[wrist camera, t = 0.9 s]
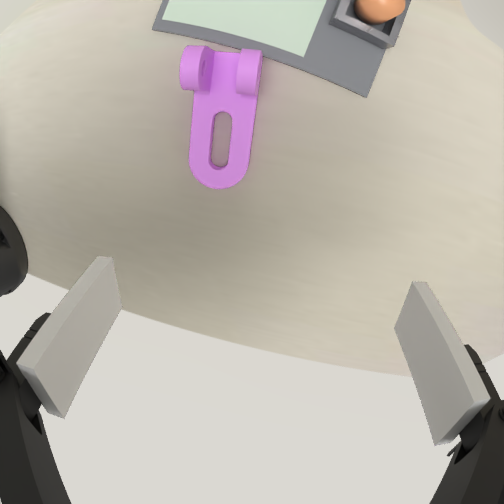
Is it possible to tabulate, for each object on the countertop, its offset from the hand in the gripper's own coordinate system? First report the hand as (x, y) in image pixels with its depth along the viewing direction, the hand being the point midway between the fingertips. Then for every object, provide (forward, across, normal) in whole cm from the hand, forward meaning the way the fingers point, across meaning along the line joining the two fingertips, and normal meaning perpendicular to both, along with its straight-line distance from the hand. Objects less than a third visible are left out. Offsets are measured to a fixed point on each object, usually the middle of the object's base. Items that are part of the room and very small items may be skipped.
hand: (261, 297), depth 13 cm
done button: (+17, +8, +17) cm, 25 cm away
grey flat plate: (+19, 0, +17) cm, 26 cm away
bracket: (+20, -4, +5) cm, 21 cm away
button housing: (+19, +8, +17) cm, 27 cm away
